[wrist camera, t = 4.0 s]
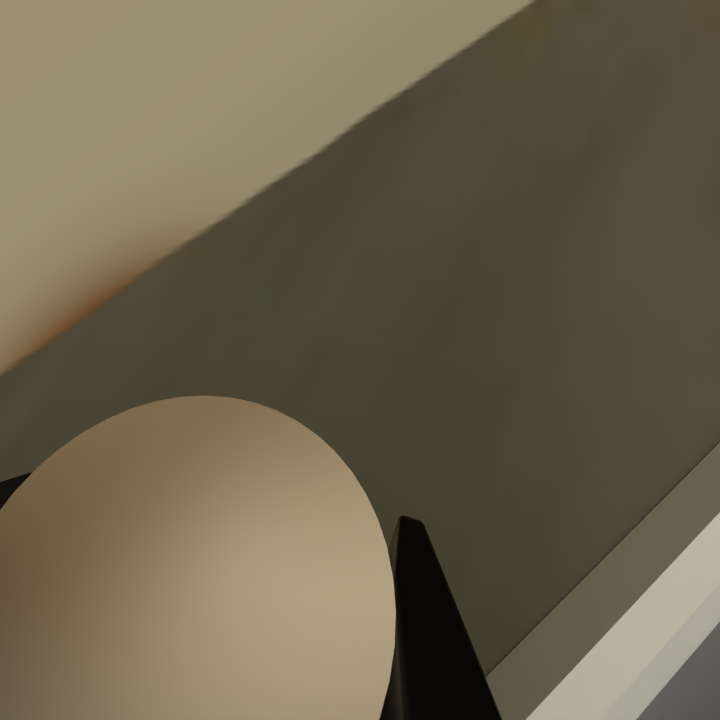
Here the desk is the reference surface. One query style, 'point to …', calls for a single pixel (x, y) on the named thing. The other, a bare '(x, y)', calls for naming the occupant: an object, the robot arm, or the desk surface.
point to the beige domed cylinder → (194, 574)
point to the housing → (632, 624)
